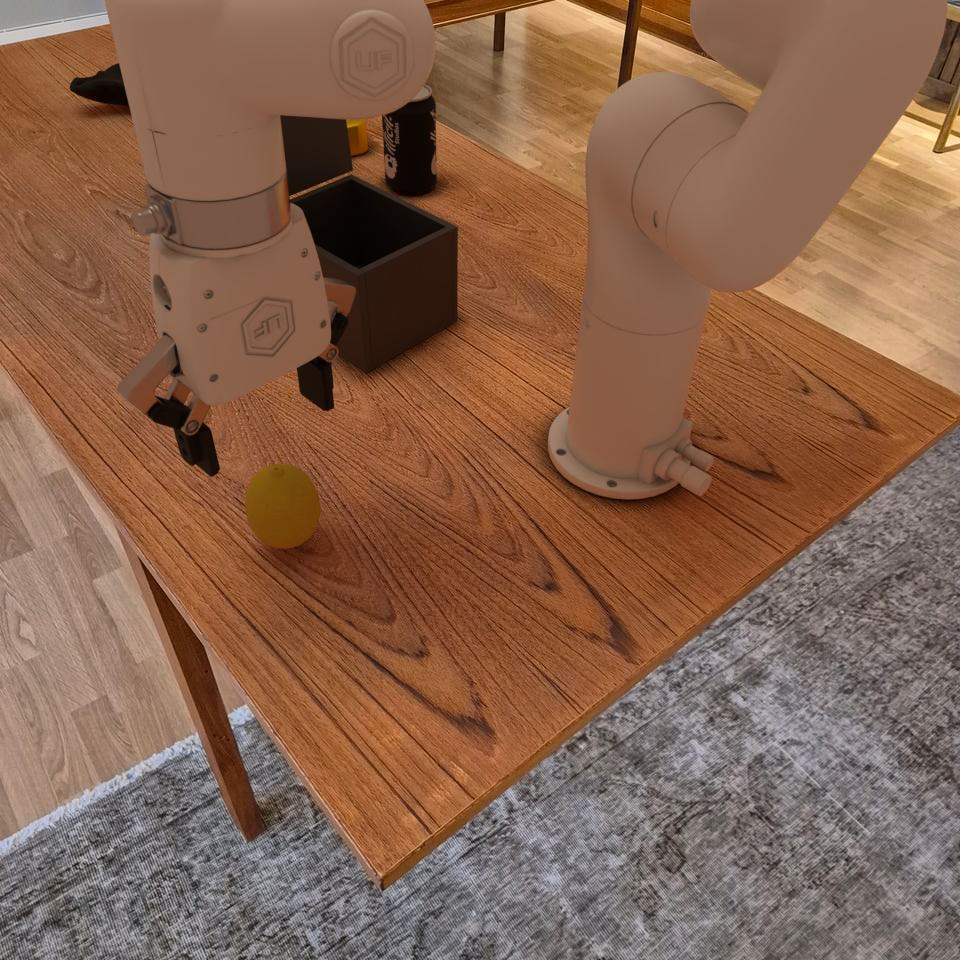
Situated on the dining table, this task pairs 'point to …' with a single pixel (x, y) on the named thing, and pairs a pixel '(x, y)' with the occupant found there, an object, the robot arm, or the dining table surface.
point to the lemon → (282, 506)
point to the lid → (314, 150)
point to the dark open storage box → (384, 266)
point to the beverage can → (411, 145)
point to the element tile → (357, 136)
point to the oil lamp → (102, 87)
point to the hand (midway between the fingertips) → (262, 432)
